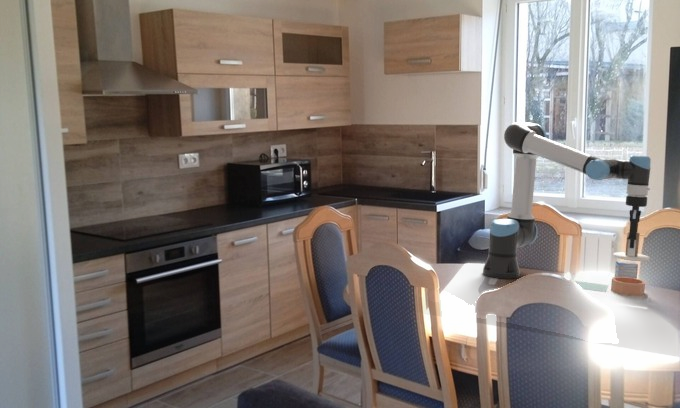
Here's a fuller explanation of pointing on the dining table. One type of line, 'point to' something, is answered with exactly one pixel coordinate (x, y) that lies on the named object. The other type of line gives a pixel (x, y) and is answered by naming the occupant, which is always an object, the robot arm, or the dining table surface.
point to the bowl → (628, 286)
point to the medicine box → (626, 269)
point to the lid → (637, 256)
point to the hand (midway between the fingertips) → (631, 254)
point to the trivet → (593, 286)
